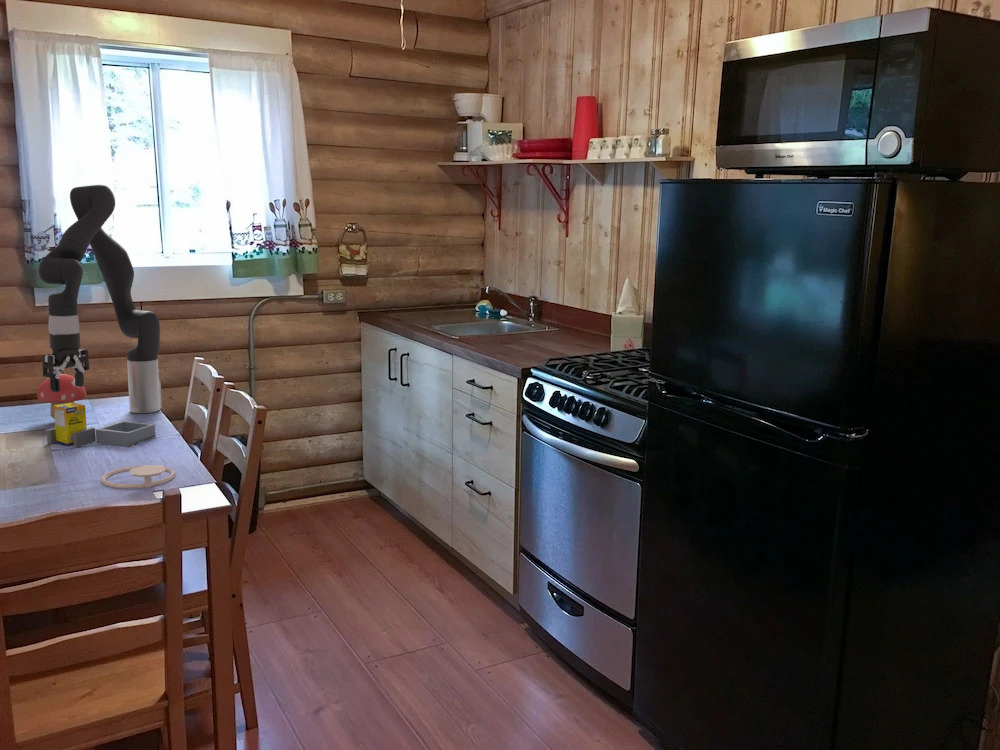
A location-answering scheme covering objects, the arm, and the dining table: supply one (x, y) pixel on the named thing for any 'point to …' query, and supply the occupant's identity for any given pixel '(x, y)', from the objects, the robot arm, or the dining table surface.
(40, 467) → the dining table surface
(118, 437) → the tray
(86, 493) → the dining table surface
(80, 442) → the grey blocks
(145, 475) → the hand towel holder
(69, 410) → the supplement box
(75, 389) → the decorative mushroom
